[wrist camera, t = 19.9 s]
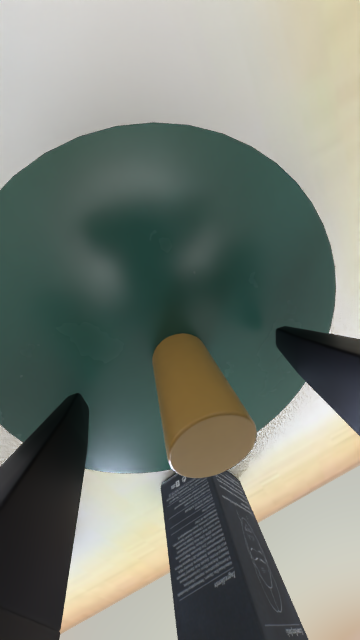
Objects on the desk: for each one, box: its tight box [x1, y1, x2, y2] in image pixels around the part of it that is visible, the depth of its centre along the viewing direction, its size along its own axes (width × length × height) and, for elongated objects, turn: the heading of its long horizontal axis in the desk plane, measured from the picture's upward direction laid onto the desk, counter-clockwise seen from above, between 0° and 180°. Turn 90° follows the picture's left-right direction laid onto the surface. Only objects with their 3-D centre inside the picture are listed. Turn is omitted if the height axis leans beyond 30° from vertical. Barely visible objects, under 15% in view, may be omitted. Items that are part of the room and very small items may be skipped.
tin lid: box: [0, 122, 336, 478], centre depth 8 cm, size 17×17×6 cm
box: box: [161, 471, 308, 640], centre depth 16 cm, size 8×6×11 cm
